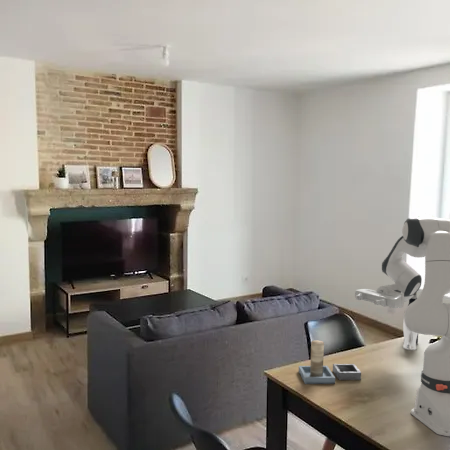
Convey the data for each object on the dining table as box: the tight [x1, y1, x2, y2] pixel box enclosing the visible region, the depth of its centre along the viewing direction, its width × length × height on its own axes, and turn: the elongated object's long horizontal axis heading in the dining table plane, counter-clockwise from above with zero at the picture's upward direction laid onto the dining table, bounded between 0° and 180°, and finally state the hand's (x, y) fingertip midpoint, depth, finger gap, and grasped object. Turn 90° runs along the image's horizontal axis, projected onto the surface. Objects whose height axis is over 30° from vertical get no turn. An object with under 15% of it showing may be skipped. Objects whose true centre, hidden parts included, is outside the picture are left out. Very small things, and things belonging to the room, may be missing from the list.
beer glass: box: [402, 321, 419, 351], centre depth 236 cm, size 7×7×15 cm
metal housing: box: [332, 363, 362, 381], centre depth 204 cm, size 9×9×3 cm
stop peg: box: [309, 339, 325, 377], centre depth 201 cm, size 5×5×14 cm
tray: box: [298, 365, 336, 385], centre depth 201 cm, size 12×12×2 cm
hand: (366, 300), depth 208 cm, fingers open, 8 cm apart
